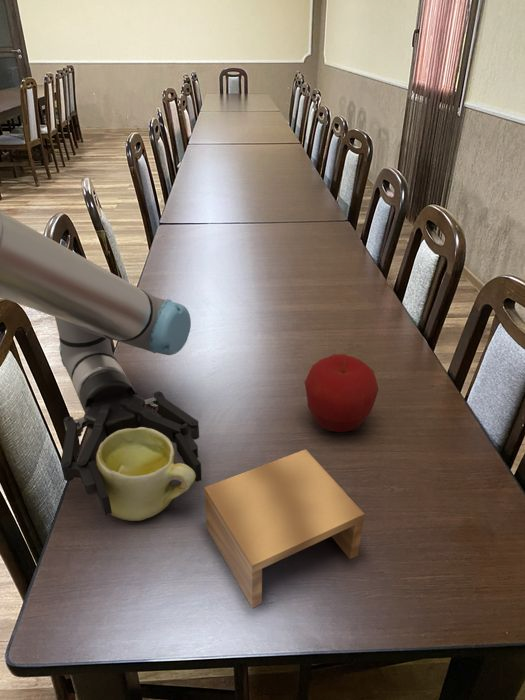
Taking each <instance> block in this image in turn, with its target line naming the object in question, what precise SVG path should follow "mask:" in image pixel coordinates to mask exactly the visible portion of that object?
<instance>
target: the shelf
mask: <svg viewBox="0 0 525 700" xmlns="http://www.w3.org/2000/svg"><path fill="white" fill-rule="evenodd" d="M203 492H204V505H205V507H204V508H205V522H206V530H207V532H208V533H209V535H210V537H211V539H212V540H213V542H214V544H215V546H216V547H217V549H218V551H219V553H220V555H221V556H222V558H223V560H224V562H225V563H226V565H227V567H228V569H229V570H230V572H231V573H232V575H233V577H234V579H235V580H236V583H237V585H238V586H239V588H240V590H241V591H242V593H243V595H244V597H245V598H246V600H247V601H248V603H249V606H250V607H251V608H252V609H253V608H255V607H258V606H259V605H261V604H262V603H263V569H264V568H266V567H269V566H270V565H273V564H275V563H277V562H279V561H282V560H283V559H286V558H288V557H290V556H292V555H295V554H297V553H299V552H300V551H303V550H305V549H307V548H309V547H311V546H314V545H316V544H318V543H320V542H322V541H324V540H326V539H328V538H330V537H331V538H332V539H333V540H334V542H335V543H336V544H337V545H338V546H339V548H340V549H341V550H342V551H343V553H344V554H345V555H346V557H347V558H348V559H349V560H351V559H354V558H355V557H358V556H359V552H360V544H361V537H362V531H363V524H364V519H365V512H363V511H362V509H361V508H360V507H359V506H358V505H357V504H356V503H355V501H353V500H352V498H351V497H350V496H349V495H348V494H347V493H346V492H345V491H344V489H343V488H342V487H341V486H340V485H339V484H338V483H337V482H336V480H335V479H333V477H332V476H331V475H330V474H329V473H328V472H327V471H326V469H324V467H322V465H321V464H320V463H319V462H318V461H317V460H316V459H315V458H314V456H313V455H312V454H311V453H310V452H309V451H308V450H307V449H306V448H305V449H302V450H300V451H297V452H294V453H292V454H289V455H286V456H284V457H281V458H278V459H276V460H274V461H271V462H268V463H265V464H262V465H260V466H258V467H255V468H252V469H249V470H247V471H243V472H242V473H239V474H236V475H233V476H230V477H227V478H225V479H222V480H220V481H218V482H215V483H213V484H210V485H206V486H204V487H203Z"/></svg>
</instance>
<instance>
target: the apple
mask: <svg viewBox="0 0 525 700" xmlns="http://www.w3.org/2000/svg"><path fill="white" fill-rule="evenodd" d="M376 377H377V376H376V373H375V371H374V370H373V369H372V368H371V367H370V366H369V365H368V364H366V362H364V361H363V360H361V359H358V358H357V357H354V356H352V355H348V354H345V353H343V354H340V353H339V354H338V353H337V354H335V353H334V354H332V355H330V356H329V355H328V356H326V357H323V358H321V359H319V360H317V361H316V362H315V363H313V364H312V366H311V367H310V369H309V371H308V374H307V376H306V378H305V380H304V387H305V392H306V399H307V407H308V409H309V410H310V412H311V414H312V416H313V418H314V420H315V421H316V423H317V425H319V426H320V427H322V428H323V429H325V430H327V431H331V432H335V433H345V432H349V431H353V430H355V429H357V428H358V427H359V426H360V425H361V424H362V423H363V422H364V421H365V419H367V417H368V416H370V414H371V412H372V410H373V408H374V406H375V402H376V399H377V395H378V392H379V385H378V382H377V378H376Z"/></svg>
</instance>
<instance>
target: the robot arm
mask: <svg viewBox="0 0 525 700" xmlns="http://www.w3.org/2000/svg"><path fill="white" fill-rule="evenodd" d="M0 298H1V299H4V300H7V301H10V302H13V303H15V304H18V305H21V306H22V307H23V306H24V307H27V308H29V309H32V310H34V311H37V312H40V313H43V314H45V315H48V316H51V317H54V319H55V323H56V328H57V332H58V337H59V339H58V340H59V355H60V358H61V359H60V361H61V363H62V366H63V367H64V368H65V370H66V372H67V374H68V376H69V379H70V381H71V383H72V385H73V388H74V390H75V393H76V396H77V398H78V400H79V402H80V405H81V408H82V410H83V412H84V414H83V417H82V416H81V417H79V418H77V419H74V417H73V416H70V415H69V416H66V417H64V418H63V424H64V428H65V436H64V441H63V448H62V453H61V459H60V460H61V461H60V468H61V472H62V475H63V481H65V482H71V481H73V480H74V479H75V478H79V479H80V483H81V484H82V485H83V489H84V491H85V493H86V494H87V495H92V494H95V493H96V495H97V498H98V500H99V502H100V506H101V508H102V511H103V513H104V516H109V515H111V513H112V510H111V505H110V500H109V495H108V493H107V490H106V488H105V485H104V483H103V480H102V478H101V475H100V473H99V470H98V468H97V463H96V454H97V451H98V449H99V446H100V444H101V443H102V442H103V441H104V440H105V439H106V438H107V437H109V436H110V435H111V434H113V433H114V432H116V431H118V430H122V429H128V428H130V429H135V428H139V427H145V428H151V429H154V430H156V431H158V432H160V433H162V434H163V435H165V436H166V437H167V438H168V439H169V440H170V441H171V443H172V444H175V446H176V451H177V453H178V455H179V457H180V458H181V460H182V461H183V464H186V465H187V466H189V467H190V468H192V469H193V471H194V472H195V475H196V478H195V481H194V482H195V483H198V482H201V481H203V477H202V476H203V475H202V463H201V461H200V460H199V450H198V444H197V443H196V442H195V440H198V439H200V425H199V420H198V419H196V418H194V417H193V416H191V415H190V414H189V413H187V412H186V411H184V410H183V409H181V408H179V406H176V405H175V404H174V403H172V402H171V401H170V400H168V399H167V398H166V397H165V395H164V394H163V392H162V391H160V390H159V391H155V392H154V393H153V397H151V398H147V399H144V398H143V397H141V396H139V395H138V394H137V392H136V390H135V388H134V387H133V385H132V384H131V381H130V379H129V378H128V376H127V375H126V373H125V371H124V370H123V368H122V366H121V365H120V363H119V361H118V360H117V358H116V356H115V354H114V351H113V347H112V341H115V342H119V343H121V344H126V345H129V346H132V347H135V348H138V349H142V350H145V351H148V352H150V353H153V354H160V355H164V356H173V355H176V354H177V353H179V352H180V351H182V349H183V348H184V346H185V345H186V344H187V341H188V339H189V335H190V332H191V327H192V319H191V315H190V312H189V310H188V308H187V307H186V306H185V305H183V304H181V303H178V302H175V301H172V300H171V299H163V298H160V297H157V296H155V295H153V294H151V293H148V292H147V291H145V290H143V289H141V288H139V287H138V286H136V285H135V284H132V283H130V282H129V281H127V280H125V279H123V278H121V277H120V276H118V275H116V274H114V273H112V272H111V271H110V270H107V269H105V268H104V267H102V266H100V265H98V264H97V263H95V262H93V261H91V260H89V259H88V258H86V257H84V256H82V255H80V254H79V253H77V252H75V251H73V250H71V249H70V248H68V247H66V246H64V245H62V244H61V243H59V242H57V241H55V240H53V239H52V238H50V237H48V236H46V235H45V234H43V233H41V232H40V231H38V230H35V229H33V228H32V227H30V226H28V225H26V224H25V223H23V222H21V221H19V220H18V219H16V218H14V217H12V216H10V215H8V214H7V213H5V212H4V211H2V209H0ZM149 410H151V411H153V412H151V411H149ZM85 428H88V429H90V430H91V432H90V435H89V436H88V439H87V441H86V443H85V445H84V447H83V449H82V451H81V452H80V455H79V454H78V453H79V448H80V437H81V436H82V435H83V432H84V429H85ZM78 455H79V456H78Z"/></svg>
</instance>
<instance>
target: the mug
mask: <svg viewBox="0 0 525 700" xmlns="http://www.w3.org/2000/svg"><path fill="white" fill-rule="evenodd" d="M175 461H176V451H175V448H174V443H173V442H171V441H170V440H169V439H168V438H167V437H166V436H165V435H163V434H162V433H160V432H158V431H156V430H154V429H151V428H145V427H139V428H135V429H130V428H128V429H122V430H118V431H116V432H114V433H113V434H111V435H110V436H109V437H107V438H106V439H105V440H104V441H103V442H102V443H101V444H100V446H99V449H98V451H97V454H96V465H97V468H98V470H99V473H100V475H101V478H102V480H103V483H104V485H105V488H106V490H107V493H108V495H109V500H110V505H111V510H112V513H111V514H110V515H111V516H112V517H116V518H117V519H120V520H122V521H123V520H124V521H131V522H137V521H138V522H139V521H143V520H146V519H150V518H152V517H154V516H156V515H158V514H159V513H162V512H163V510H165V509H166V508H167V507H168V506H169V505H170V504H171V502H172V501H173V500H174V499H175V498H178V497H179V496H181V495H182V494H184V493H186V492H187V491H188V490H189V489H190V488H191V486H192V485H193V484H194V483H195V482H196V481H195V478H196V475H195V472H194V471H193V469H192V468H190V467H189V466H187V465H186V464H185V463H184V462H177V463H176V462H175ZM173 481H178V482H180V483H178V484H177V485H174V486H173Z"/></svg>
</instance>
